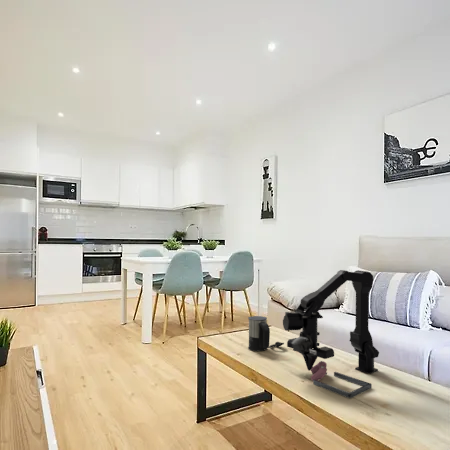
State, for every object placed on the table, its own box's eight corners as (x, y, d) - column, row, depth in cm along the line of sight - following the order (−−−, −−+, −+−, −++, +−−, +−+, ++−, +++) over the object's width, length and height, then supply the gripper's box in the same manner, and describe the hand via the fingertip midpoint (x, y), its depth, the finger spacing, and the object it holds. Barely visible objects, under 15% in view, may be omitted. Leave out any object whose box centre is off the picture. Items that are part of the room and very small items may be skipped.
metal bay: (335, 375, 134) (335, 371, 134) (371, 388, 122) (371, 383, 123) (313, 384, 125) (313, 380, 125) (350, 398, 114) (350, 393, 114)
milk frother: (243, 348, 168) (244, 317, 169) (265, 342, 178) (265, 313, 179) (266, 355, 157) (266, 322, 158) (287, 348, 168) (287, 317, 169)
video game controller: (321, 386, 127) (330, 370, 127) (309, 379, 128) (318, 363, 128) (320, 376, 137) (329, 361, 136) (310, 370, 138) (318, 355, 137)
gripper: (277, 327, 138) (277, 367, 137) (316, 338, 123) (316, 383, 123) (296, 323, 145) (296, 361, 144) (335, 333, 130) (335, 376, 130)
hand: (309, 370), depth 135 cm, fingers closed
